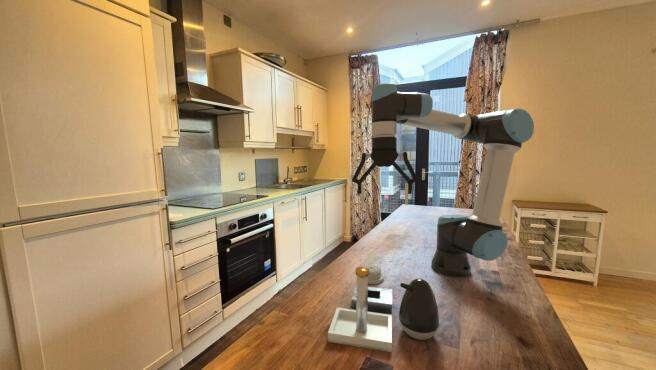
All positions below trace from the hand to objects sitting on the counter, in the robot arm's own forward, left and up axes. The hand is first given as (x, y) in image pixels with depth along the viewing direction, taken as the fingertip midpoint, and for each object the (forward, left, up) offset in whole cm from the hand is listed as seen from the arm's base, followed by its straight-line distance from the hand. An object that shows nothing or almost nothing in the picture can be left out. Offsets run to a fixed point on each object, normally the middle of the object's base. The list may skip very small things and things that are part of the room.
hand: (384, 204), depth 87 cm
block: (+3, +6, -32) cm, 33 cm away
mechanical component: (+5, -15, -33) cm, 36 cm away
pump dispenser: (-10, +15, -33) cm, 37 cm away
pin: (+5, +18, -32) cm, 37 cm away
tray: (+5, +18, -32) cm, 37 cm away
